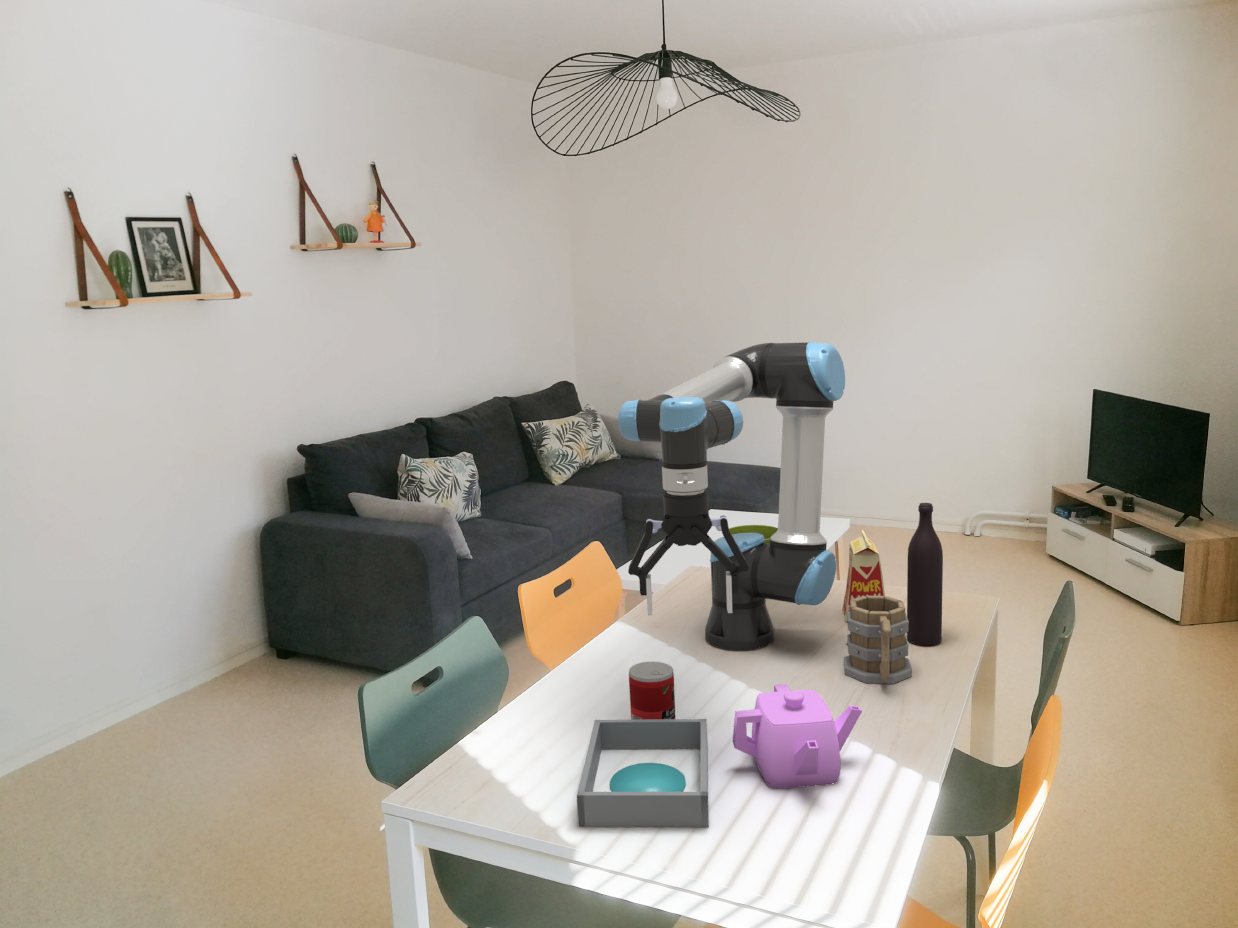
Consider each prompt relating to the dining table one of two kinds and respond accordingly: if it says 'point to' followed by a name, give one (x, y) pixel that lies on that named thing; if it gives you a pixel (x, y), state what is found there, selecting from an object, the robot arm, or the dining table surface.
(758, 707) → the teakettle
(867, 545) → the milk carton
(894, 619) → the tankard
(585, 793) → the grey square tray
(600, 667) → the dining table surface
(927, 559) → the wine bottle
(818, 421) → the robot arm
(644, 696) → the canned food
